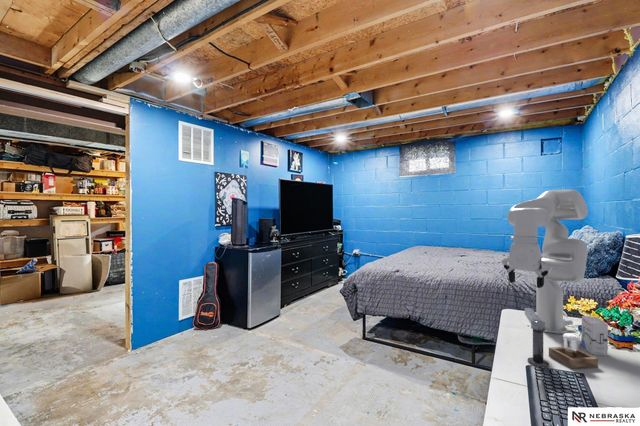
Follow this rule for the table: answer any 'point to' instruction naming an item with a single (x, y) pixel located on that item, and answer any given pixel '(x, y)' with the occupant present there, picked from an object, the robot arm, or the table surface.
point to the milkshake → (571, 344)
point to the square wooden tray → (574, 363)
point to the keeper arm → (534, 320)
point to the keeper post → (538, 350)
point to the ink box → (594, 335)
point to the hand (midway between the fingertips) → (525, 284)
